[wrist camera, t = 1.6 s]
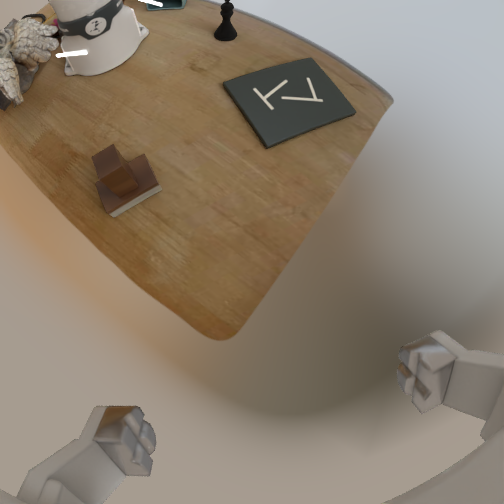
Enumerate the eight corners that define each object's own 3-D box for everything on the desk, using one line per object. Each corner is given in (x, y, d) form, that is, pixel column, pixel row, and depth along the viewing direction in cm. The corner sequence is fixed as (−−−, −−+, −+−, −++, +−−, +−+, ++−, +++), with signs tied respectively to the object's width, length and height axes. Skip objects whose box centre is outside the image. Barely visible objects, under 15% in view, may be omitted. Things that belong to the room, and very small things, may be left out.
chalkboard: (222, 85, 40) (223, 82, 39) (309, 60, 43) (311, 57, 42) (266, 149, 39) (267, 146, 38) (354, 114, 42) (356, 111, 41)
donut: (54, 12, 36) (62, 23, 41) (25, 37, 32) (35, 48, 37) (87, -12, 33) (95, 0, 38) (57, 10, 29) (67, 23, 33)
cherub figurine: (11, 14, 21) (26, -18, 13) (58, 51, 37) (85, 33, 29) (-43, 83, 20) (-50, 70, 12) (10, 117, 36) (19, 117, 28)
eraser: (102, 189, 36) (72, 163, 26) (148, 162, 37) (130, 127, 27) (114, 217, 36) (83, 197, 26) (162, 189, 37) (144, 160, 27)
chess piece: (241, 34, 42) (246, -3, 32) (225, 43, 41) (228, 5, 31) (225, 26, 42) (227, -10, 32) (209, 35, 41) (209, -3, 31)
